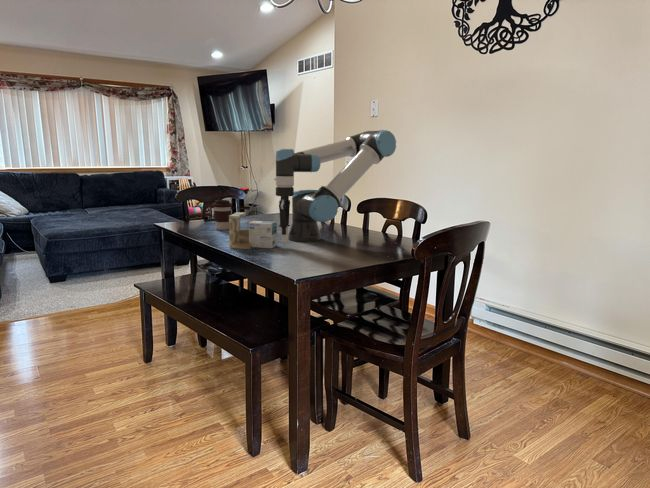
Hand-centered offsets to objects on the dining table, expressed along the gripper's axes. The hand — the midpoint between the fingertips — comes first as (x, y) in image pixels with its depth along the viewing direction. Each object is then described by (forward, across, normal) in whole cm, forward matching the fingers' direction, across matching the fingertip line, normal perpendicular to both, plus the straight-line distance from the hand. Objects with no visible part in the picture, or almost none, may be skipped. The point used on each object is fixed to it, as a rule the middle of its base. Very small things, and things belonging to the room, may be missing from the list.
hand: (284, 241), depth 195 cm
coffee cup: (+3, -40, -40) cm, 57 cm away
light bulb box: (+3, 0, -9) cm, 10 cm away
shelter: (+3, 0, -17) cm, 18 cm away
